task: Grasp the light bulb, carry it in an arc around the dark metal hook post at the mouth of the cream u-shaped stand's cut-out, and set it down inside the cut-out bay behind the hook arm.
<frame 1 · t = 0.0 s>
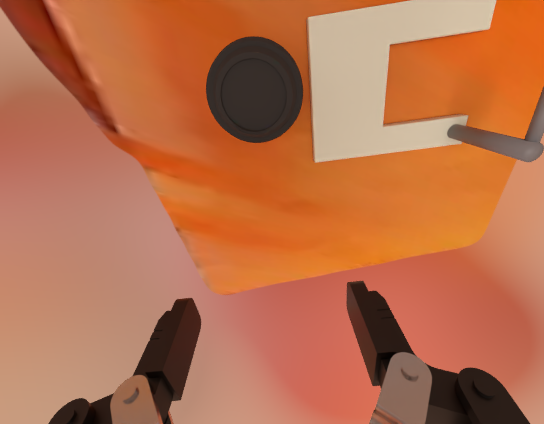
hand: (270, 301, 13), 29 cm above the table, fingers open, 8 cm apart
coffee cup: (259, 90, 34), on the table
cream u-shaped stand: (388, 87, 34), on the table
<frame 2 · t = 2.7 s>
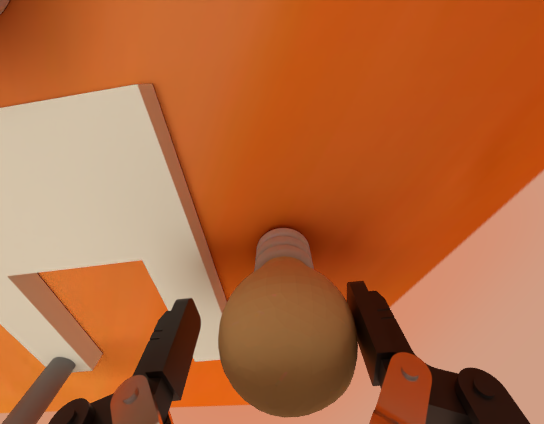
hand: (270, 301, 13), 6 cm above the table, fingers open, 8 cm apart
cream u-shaped stand: (95, 263, 18), on the table
light bulb: (282, 243, 18), on the table
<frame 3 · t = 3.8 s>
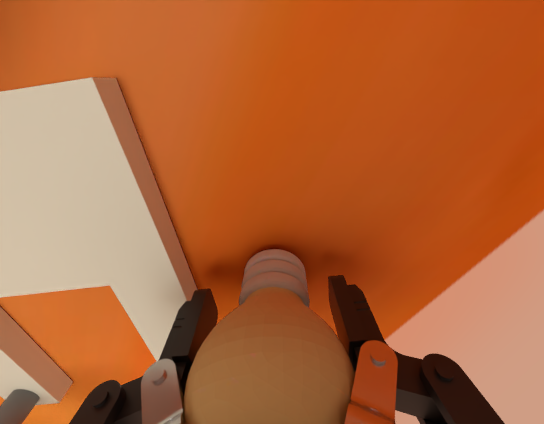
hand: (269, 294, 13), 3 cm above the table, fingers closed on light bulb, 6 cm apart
cream u-shaped stand: (58, 286, 16), on the table
light bulb: (275, 264, 16), on the table, touching gripper
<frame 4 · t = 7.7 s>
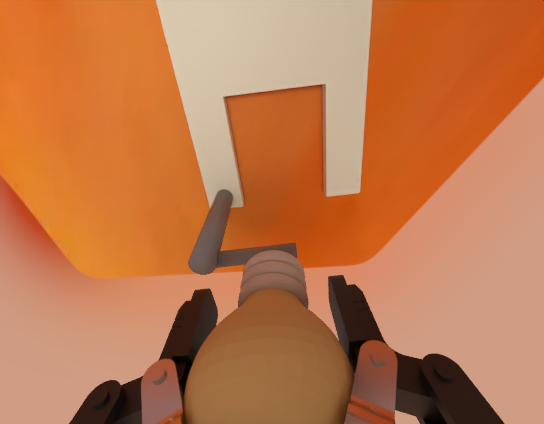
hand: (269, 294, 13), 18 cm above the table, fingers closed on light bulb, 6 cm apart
cream u-shaped stand: (274, 100, 25), on the table
light bulb: (273, 265, 16), point 16 cm above the table, touching gripper
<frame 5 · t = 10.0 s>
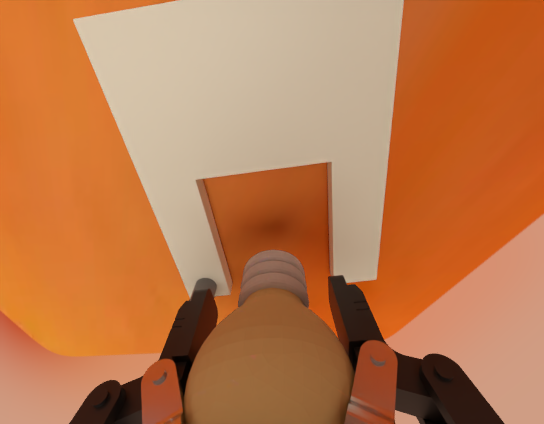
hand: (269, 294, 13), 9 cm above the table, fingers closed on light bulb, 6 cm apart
cream u-shaped stand: (264, 176, 19), on the table
light bulb: (273, 265, 16), point 6 cm above the table, touching gripper
when the fingers open (5 cm above the table, at t = 11.9 s): light bulb drops 2 cm, on the table.
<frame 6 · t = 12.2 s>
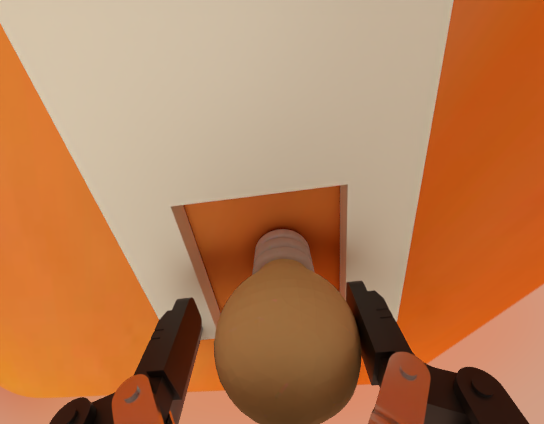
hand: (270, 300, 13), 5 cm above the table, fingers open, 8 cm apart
cream u-shaped stand: (260, 199, 15), on the table
light bulb: (281, 245, 17), on the table, touching gripper
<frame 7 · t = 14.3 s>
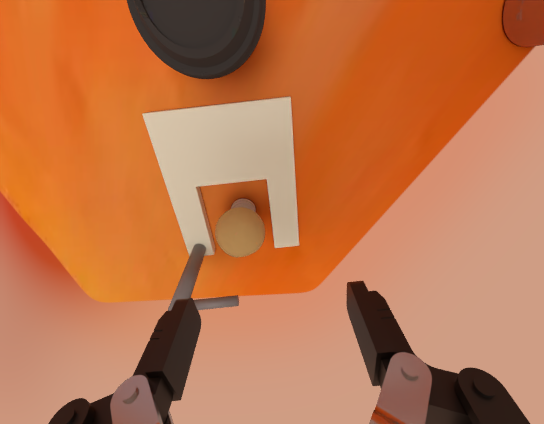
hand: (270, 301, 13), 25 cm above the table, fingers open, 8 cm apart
coffee cup: (223, 34, 27), on the table
cream u-shaped stand: (233, 185, 36), on the table
light bulb: (243, 207, 38), on the table
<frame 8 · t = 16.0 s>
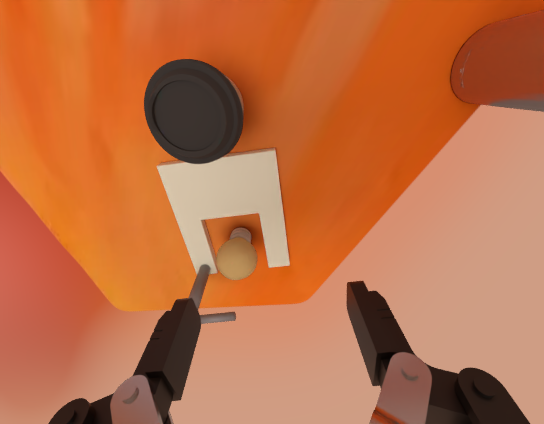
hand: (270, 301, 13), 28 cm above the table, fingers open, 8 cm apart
coffee cup: (219, 104, 34), on the table
cream u-shaped stand: (232, 216, 42), on the table
light bulb: (241, 233, 44), on the table
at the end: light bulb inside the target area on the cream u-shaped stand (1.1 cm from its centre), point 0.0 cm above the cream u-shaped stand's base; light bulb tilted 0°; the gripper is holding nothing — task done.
